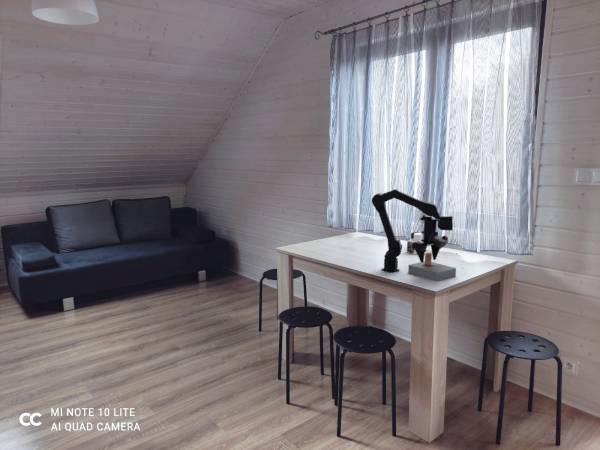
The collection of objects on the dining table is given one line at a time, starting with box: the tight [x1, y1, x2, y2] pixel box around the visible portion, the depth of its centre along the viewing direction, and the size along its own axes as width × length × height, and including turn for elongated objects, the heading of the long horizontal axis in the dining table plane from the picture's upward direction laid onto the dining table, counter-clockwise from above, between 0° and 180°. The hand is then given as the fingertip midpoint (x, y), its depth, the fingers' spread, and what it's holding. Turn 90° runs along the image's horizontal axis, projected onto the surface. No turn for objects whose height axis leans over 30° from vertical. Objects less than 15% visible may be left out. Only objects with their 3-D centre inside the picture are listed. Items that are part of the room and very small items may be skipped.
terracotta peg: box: [424, 252, 433, 267], centre depth 217 cm, size 3×3×10 cm
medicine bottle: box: [406, 231, 423, 256], centre depth 260 cm, size 7×7×12 cm
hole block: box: [407, 260, 457, 282], centre depth 216 cm, size 14×17×4 cm
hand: (428, 261), depth 217 cm, fingers open, 9 cm apart
